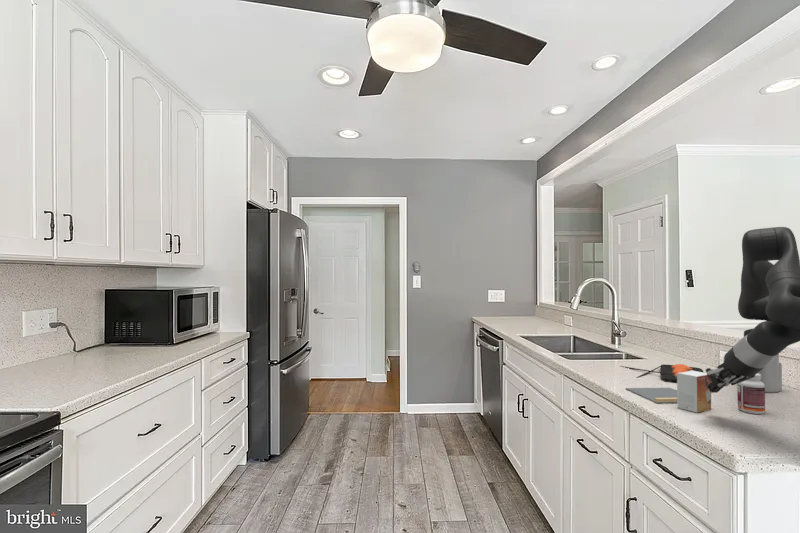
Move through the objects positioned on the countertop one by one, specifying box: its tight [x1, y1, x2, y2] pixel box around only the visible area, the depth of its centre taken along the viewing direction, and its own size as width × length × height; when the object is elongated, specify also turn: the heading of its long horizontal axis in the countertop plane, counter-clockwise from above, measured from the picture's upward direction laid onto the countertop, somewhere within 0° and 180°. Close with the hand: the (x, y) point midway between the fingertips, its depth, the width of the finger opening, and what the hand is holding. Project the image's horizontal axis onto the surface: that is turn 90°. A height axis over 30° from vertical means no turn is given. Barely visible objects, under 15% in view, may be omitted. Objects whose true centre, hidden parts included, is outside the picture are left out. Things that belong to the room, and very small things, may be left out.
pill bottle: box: [736, 373, 766, 415], centre depth 121 cm, size 6×6×11 cm
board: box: [625, 387, 677, 405], centre depth 136 cm, size 16×16×1 cm
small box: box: [676, 370, 712, 414], centre depth 123 cm, size 8×6×10 cm
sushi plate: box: [620, 363, 705, 383], centre depth 167 cm, size 29×30×4 cm
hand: (711, 389), depth 117 cm, fingers closed
